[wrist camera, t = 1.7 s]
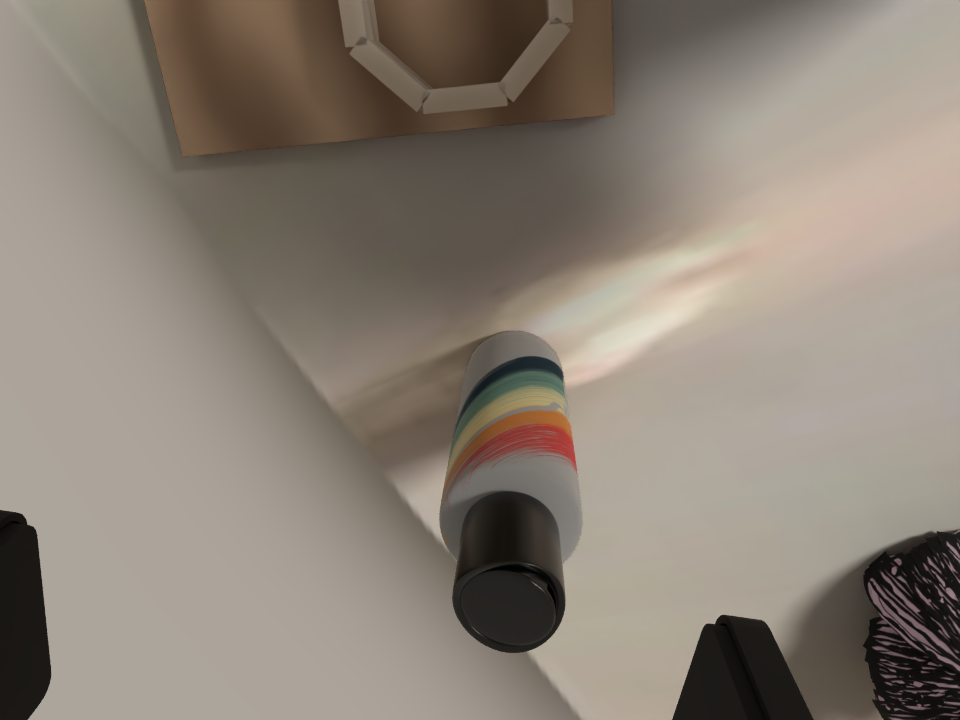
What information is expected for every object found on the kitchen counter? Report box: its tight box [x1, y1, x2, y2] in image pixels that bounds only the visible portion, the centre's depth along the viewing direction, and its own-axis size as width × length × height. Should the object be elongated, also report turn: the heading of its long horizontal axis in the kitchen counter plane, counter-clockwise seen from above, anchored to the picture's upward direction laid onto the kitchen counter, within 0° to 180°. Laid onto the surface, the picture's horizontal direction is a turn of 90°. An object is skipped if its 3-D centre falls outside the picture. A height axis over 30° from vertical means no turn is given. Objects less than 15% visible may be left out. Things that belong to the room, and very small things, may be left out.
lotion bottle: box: [440, 331, 583, 653], centre depth 32 cm, size 6×6×20 cm
